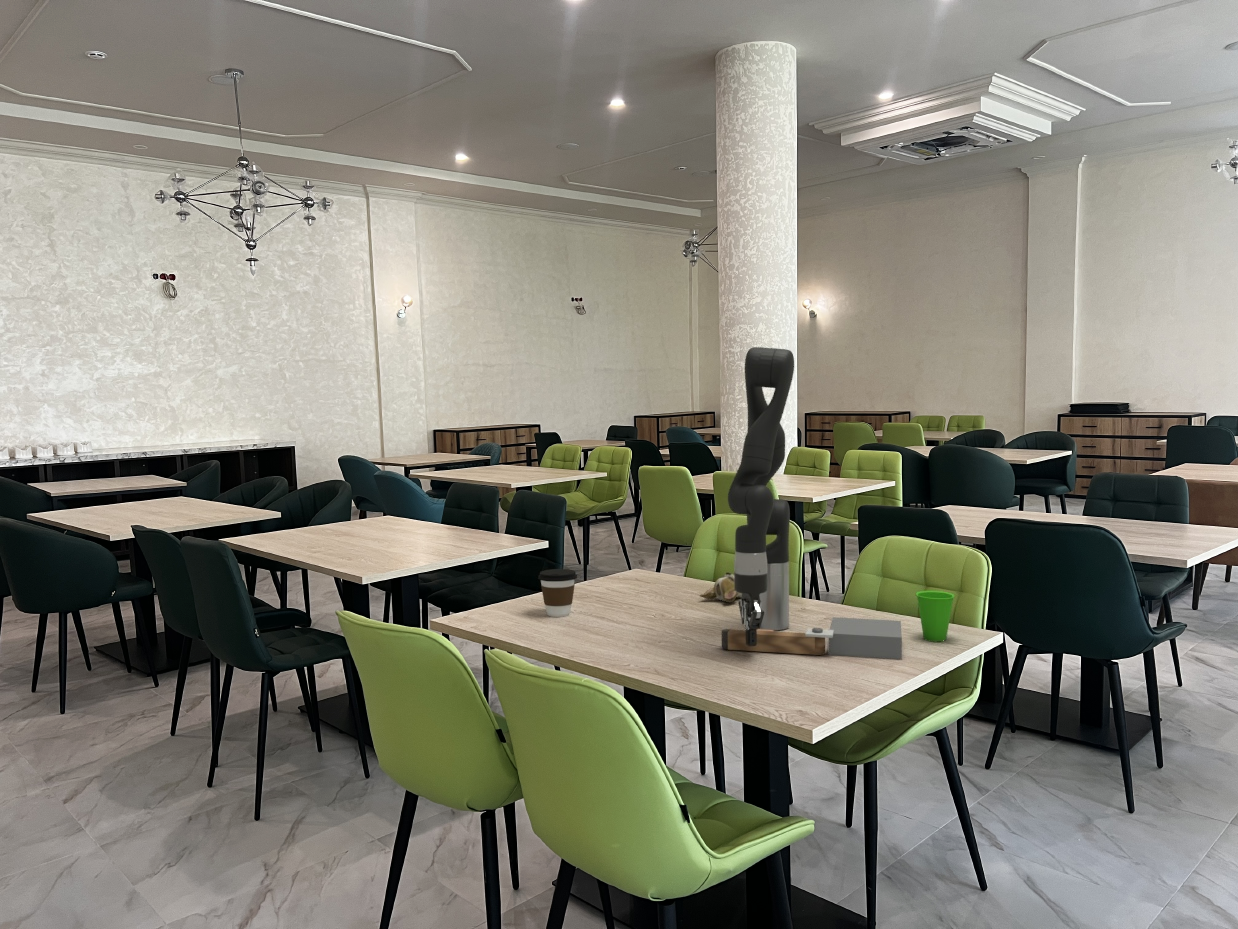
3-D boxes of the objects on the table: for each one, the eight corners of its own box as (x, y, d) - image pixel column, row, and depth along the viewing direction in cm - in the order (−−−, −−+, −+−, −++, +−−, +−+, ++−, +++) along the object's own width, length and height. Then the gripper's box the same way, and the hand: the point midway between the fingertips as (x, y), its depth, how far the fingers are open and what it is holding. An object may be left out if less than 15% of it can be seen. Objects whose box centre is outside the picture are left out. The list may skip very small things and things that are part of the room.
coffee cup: (573, 619, 240) (572, 576, 240) (534, 618, 242) (533, 575, 241) (581, 610, 251) (580, 568, 250) (544, 609, 253) (543, 568, 252)
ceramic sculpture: (756, 569, 263) (726, 580, 252) (757, 598, 264) (727, 609, 253) (727, 566, 270) (696, 576, 259) (728, 593, 271) (698, 605, 260)
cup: (952, 635, 218) (953, 591, 218) (956, 645, 210) (956, 599, 209) (914, 633, 221) (914, 589, 220) (916, 642, 212) (916, 597, 211)
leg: (825, 651, 205) (825, 634, 205) (824, 655, 202) (824, 638, 201) (722, 645, 211) (722, 628, 211) (720, 649, 208) (720, 632, 208)
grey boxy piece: (755, 632, 224) (755, 610, 223) (900, 641, 214) (900, 617, 213) (744, 652, 206) (744, 627, 206) (901, 662, 196) (901, 636, 196)
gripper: (775, 575, 197) (775, 652, 198) (757, 565, 210) (758, 637, 211) (743, 576, 196) (743, 653, 197) (727, 566, 209) (727, 639, 210)
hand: (751, 645), depth 204 cm, fingers closed
